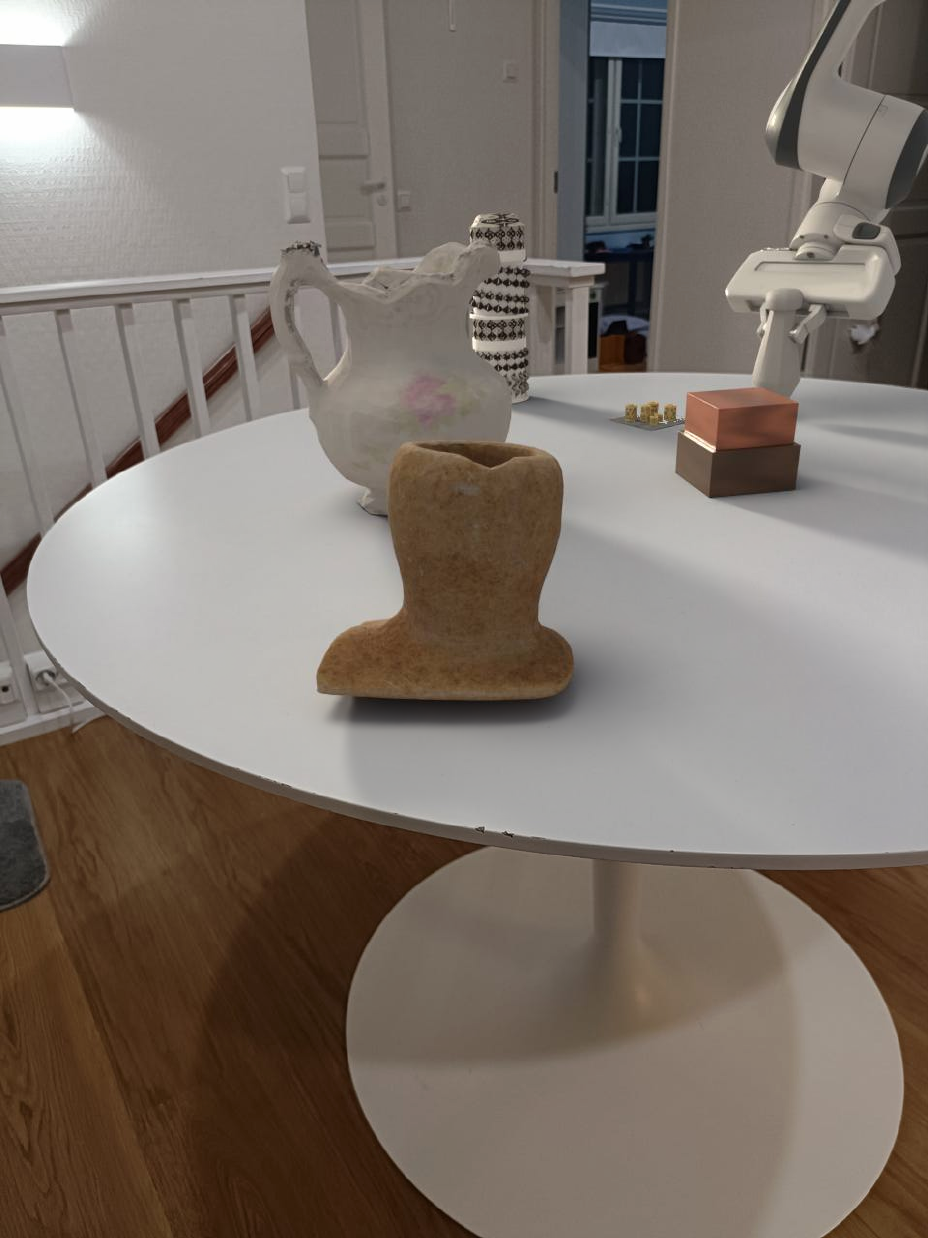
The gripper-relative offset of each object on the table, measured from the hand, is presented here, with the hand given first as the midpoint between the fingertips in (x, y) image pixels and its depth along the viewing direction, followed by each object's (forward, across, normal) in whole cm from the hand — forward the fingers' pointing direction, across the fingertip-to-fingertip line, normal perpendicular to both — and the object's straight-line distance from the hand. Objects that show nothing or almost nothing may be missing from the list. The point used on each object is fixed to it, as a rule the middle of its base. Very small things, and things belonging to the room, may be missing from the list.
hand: (778, 339), depth 109 cm
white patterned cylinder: (+16, -37, -2) cm, 40 cm away
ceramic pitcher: (+44, -9, -30) cm, 54 cm away
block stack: (+25, +11, -11) cm, 30 cm away
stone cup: (+58, +21, -44) cm, 76 cm away
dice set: (+14, -11, 0) cm, 18 cm away
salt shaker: (+5, 0, +6) cm, 7 cm away
